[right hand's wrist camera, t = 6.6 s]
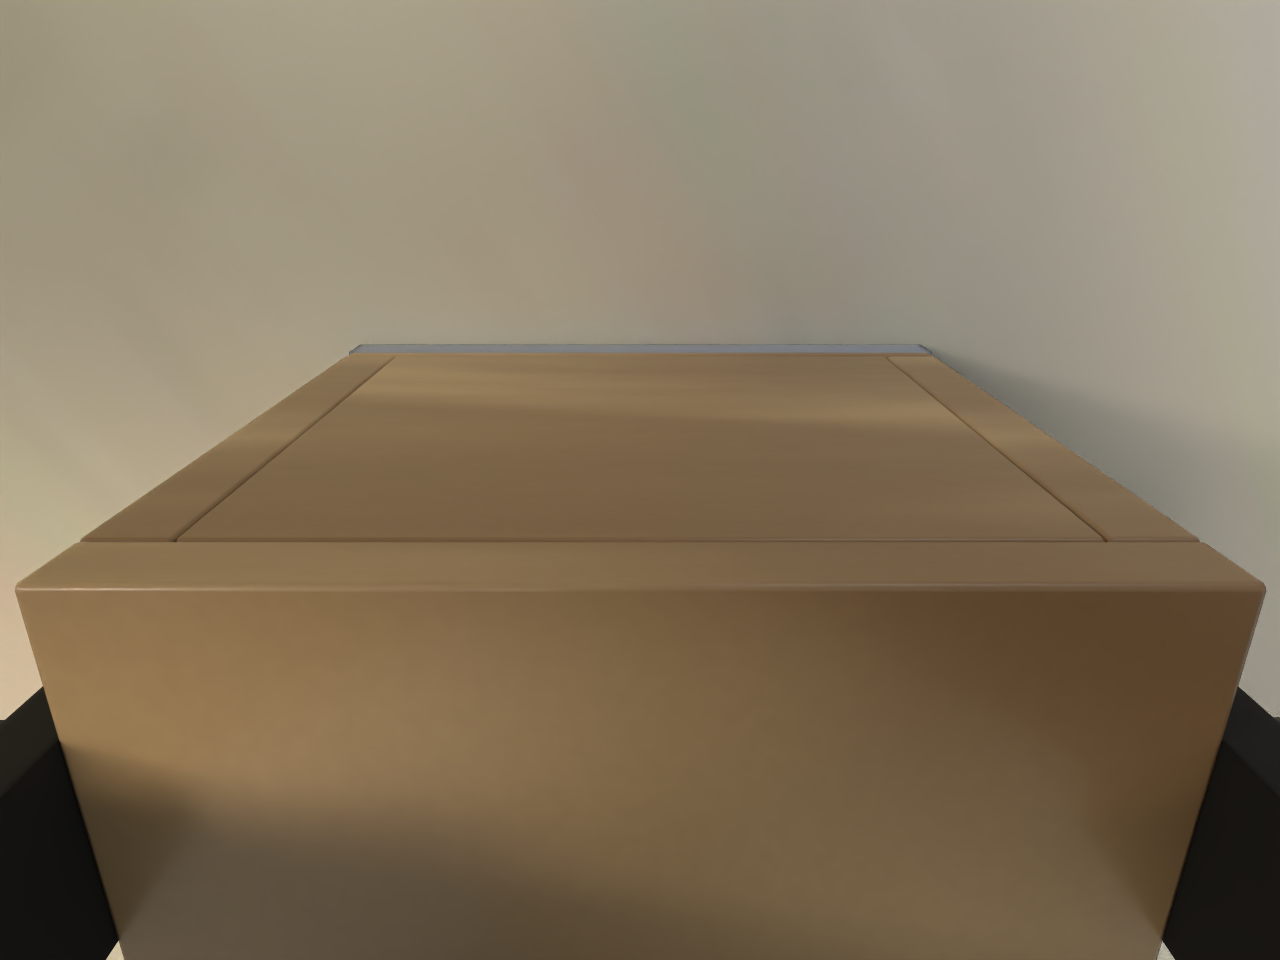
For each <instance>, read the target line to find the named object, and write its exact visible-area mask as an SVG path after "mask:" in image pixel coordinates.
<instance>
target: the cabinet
mask: <svg viewBox="0 0 1280 960" xmlns="http://www.w3.org/2000/svg"><path fill="white" fill-rule="evenodd" d="M15 593H16V596H17V599H18V603H19V606H20V610H21V613H22V616H23V620H24V623H25V626H26V630H27V633H28V636H29V640H30V643H31V647H32V650H33V653H34V657H35V660H36V663H37V667H38V670H39V674H40V677H41V680H42V684H43V687H44V690H45V694H46V697H47V701H48V704H49V707H50V711H51V714H52V717H53V721H54V724H55V727H56V731H57V734H58V738H59V741H60V744H61V748H62V751H63V754H64V758H65V761H66V765H67V768H68V771H69V775H70V778H71V781H72V785H73V788H74V792H75V795H76V798H77V802H78V805H79V808H80V812H81V815H82V818H83V822H84V825H85V829H86V832H87V835H88V839H89V842H90V845H91V849H92V852H93V856H94V859H95V862H96V866H97V869H98V872H99V876H100V879H101V883H102V886H103V889H104V893H105V896H106V899H107V903H108V906H109V909H110V913H111V916H112V920H113V923H114V926H115V930H116V933H117V936H118V940H119V943H120V947H121V950H122V953H123V957H124V960H1157V957H1158V953H1159V950H1160V947H1161V943H1162V940H1163V936H1164V933H1165V930H1166V926H1167V923H1168V920H1169V916H1170V913H1171V910H1172V906H1173V903H1174V899H1175V896H1176V893H1177V889H1178V886H1179V883H1180V879H1181V876H1182V873H1183V869H1184V866H1185V862H1186V859H1187V856H1188V852H1189V849H1190V846H1191V842H1192V839H1193V836H1194V832H1195V829H1196V825H1197V822H1198V819H1199V815H1200V812H1201V809H1202V805H1203V802H1204V799H1205V795H1206V792H1207V789H1208V785H1209V782H1210V778H1211V775H1212V772H1213V768H1214V765H1215V762H1216V758H1217V755H1218V752H1219V748H1220V745H1221V741H1222V738H1223V735H1224V731H1225V728H1226V725H1227V721H1228V718H1229V715H1230V711H1231V708H1232V704H1233V701H1234V698H1235V694H1236V691H1237V688H1238V684H1239V681H1240V678H1241V674H1242V671H1243V667H1244V664H1245V661H1246V657H1247V654H1248V651H1249V647H1250V644H1251V641H1252V637H1253V634H1254V630H1255V627H1256V624H1257V620H1258V617H1259V614H1260V610H1261V607H1262V604H1263V600H1264V597H1265V593H1266V586H1265V585H1264V583H1263V582H1261V581H1260V580H1258V579H1257V578H1255V577H1254V576H1252V575H1251V574H1249V573H1248V572H1247V571H1245V570H1244V569H1242V568H1241V567H1239V566H1238V565H1236V564H1235V563H1233V562H1232V561H1231V560H1229V559H1228V558H1226V557H1225V556H1223V555H1222V554H1220V553H1219V552H1217V551H1216V550H1215V549H1213V548H1212V547H1210V546H1209V545H1207V544H1205V543H1202V542H1200V541H1199V539H1198V538H1197V537H1196V536H1194V535H1193V534H1191V533H1190V532H1188V531H1187V530H1186V529H1184V528H1183V527H1181V526H1180V525H1178V524H1177V523H1175V522H1174V521H1172V520H1171V519H1170V518H1168V517H1167V516H1165V515H1164V514H1162V513H1161V512H1159V511H1158V510H1156V509H1155V508H1154V507H1152V506H1151V505H1149V504H1148V503H1146V502H1145V501H1143V500H1142V499H1140V498H1139V497H1138V496H1136V495H1135V494H1133V493H1132V492H1130V491H1129V490H1127V489H1126V488H1124V487H1123V486H1122V485H1120V484H1119V483H1117V482H1116V481H1114V480H1113V479H1111V478H1110V477H1109V476H1107V475H1106V474H1104V473H1103V472H1101V471H1100V470H1098V469H1097V468H1095V467H1094V466H1093V465H1091V464H1090V463H1088V462H1087V461H1085V460H1084V459H1082V458H1081V457H1079V456H1078V455H1077V454H1075V453H1074V452H1072V451H1071V450H1069V449H1068V448H1066V447H1065V446H1063V445H1062V444H1061V443H1059V442H1058V441H1056V440H1055V439H1053V438H1052V437H1050V436H1049V435H1047V434H1046V433H1045V432H1043V431H1042V430H1040V429H1039V428H1037V427H1036V426H1034V425H1033V424H1031V423H1030V422H1029V421H1027V420H1026V419H1024V418H1023V417H1021V416H1020V415H1018V414H1017V413H1015V412H1014V411H1013V410H1011V409H1010V408H1008V407H1007V406H1005V405H1004V404H1002V403H1001V402H999V401H998V400H997V399H995V398H994V397H992V396H991V395H989V394H988V393H986V392H985V391H983V390H982V389H981V388H979V387H978V386H976V385H975V384H973V383H972V382H970V381H969V380H967V379H966V378H965V377H963V376H962V375H960V374H959V373H957V372H956V371H954V370H953V369H951V368H950V367H949V366H947V365H946V364H944V363H943V362H941V361H940V360H938V359H937V358H935V357H933V356H932V355H931V352H930V351H929V350H927V349H926V348H925V347H923V346H922V345H359V346H358V347H356V348H355V349H353V350H352V351H350V352H349V356H347V357H345V358H343V359H342V360H340V361H339V362H337V363H336V364H334V365H333V366H331V367H330V368H329V369H327V370H326V371H324V372H323V373H321V374H320V375H318V376H317V377H315V378H314V379H313V380H311V381H310V382H308V383H307V384H305V385H304V386H302V387H301V388H299V389H298V390H297V391H295V392H294V393H292V394H291V395H289V396H288V397H286V398H285V399H283V400H282V401H281V402H279V403H278V404H276V405H275V406H273V407H272V408H270V409H269V410H267V411H266V412H265V413H263V414H262V415H260V416H259V417H257V418H256V419H254V420H253V421H251V422H250V423H249V424H247V425H246V426H244V427H243V428H241V429H240V430H238V431H237V432H235V433H234V434H233V435H231V436H230V437H228V438H227V439H225V440H224V441H222V442H221V443H220V444H218V445H217V446H215V447H214V448H212V449H211V450H209V451H208V452H206V453H205V454H204V455H202V456H201V457H199V458H198V459H196V460H195V461H193V462H192V463H190V464H189V465H188V466H186V467H185V468H183V469H182V470H180V471H179V472H177V473H176V474H174V475H173V476H172V477H170V478H169V479H167V480H166V481H164V482H163V483H161V484H160V485H158V486H157V487H156V488H154V489H153V490H151V491H150V492H148V493H147V494H145V495H144V496H142V497H141V498H140V499H138V500H137V501H135V502H134V503H132V504H131V505H129V506H128V507H126V508H125V509H124V510H122V511H121V512H119V513H118V514H116V515H115V516H113V517H112V518H110V519H109V520H108V521H106V522H105V523H103V524H102V525H100V526H99V527H97V528H96V529H94V530H93V531H92V532H90V533H89V534H87V535H86V536H84V537H83V538H82V539H81V541H80V542H79V543H76V544H74V545H72V546H71V547H69V548H68V549H66V550H65V551H64V552H62V553H61V554H59V555H58V556H56V557H55V558H53V559H52V560H50V561H49V562H48V563H46V564H45V565H43V566H42V567H40V568H39V569H37V570H36V571H34V572H33V573H32V574H30V575H29V576H27V577H26V578H24V579H23V580H21V581H20V582H19V583H17V585H16V588H15Z"/></svg>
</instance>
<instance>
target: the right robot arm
mask: <svg viewBox="0 0 1280 960" xmlns="http://www.w3.org/2000/svg"><path fill="white" fill-rule="evenodd" d="M1162 941H1163V942H1164V944H1165V945H1166V947H1167V948H1168V950H1169V951H1170V953H1171V954H1172V956H1173V957H1174V959H1175V960H1280V717H1272V716H1271V715H1270V714H1269V713H1267V712H1266V711H1265V710H1264V709H1263V708H1262V707H1261V706H1260V705H1258V704H1257V703H1256V702H1255V701H1254V700H1253V699H1252V698H1251V697H1249V696H1248V695H1247V694H1246V693H1245V692H1244V691H1243V690H1242V689H1240V688H1239V687H1238V688H1237V691H1236V694H1235V698H1234V701H1233V704H1232V708H1231V711H1230V715H1229V718H1228V721H1227V725H1226V728H1225V731H1224V735H1223V738H1222V741H1221V745H1220V748H1219V752H1218V755H1217V758H1216V762H1215V765H1214V768H1213V772H1212V775H1211V778H1210V782H1209V785H1208V789H1207V792H1206V795H1205V799H1204V802H1203V805H1202V809H1201V812H1200V815H1199V819H1198V822H1197V825H1196V829H1195V832H1194V836H1193V839H1192V842H1191V846H1190V849H1189V852H1188V856H1187V859H1186V862H1185V866H1184V869H1183V873H1182V876H1181V879H1180V883H1179V886H1178V889H1177V893H1176V896H1175V899H1174V903H1173V906H1172V910H1171V913H1170V916H1169V920H1168V923H1167V926H1166V930H1165V933H1164V936H1163V940H1162ZM117 942H118V936H117V933H116V930H115V926H114V923H113V920H112V916H111V913H110V909H109V906H108V903H107V899H106V896H105V893H104V889H103V886H102V883H101V879H100V876H99V872H98V869H97V866H96V862H95V859H94V856H93V852H92V849H91V845H90V842H89V839H88V835H87V832H86V829H85V825H84V822H83V818H82V815H81V812H80V808H79V805H78V802H77V798H76V795H75V792H74V788H73V785H72V781H71V778H70V775H69V771H68V768H67V765H66V761H65V758H64V754H63V751H62V748H61V744H60V741H59V738H58V734H57V731H56V727H55V724H54V721H53V717H52V714H51V711H50V707H49V704H48V701H47V697H46V694H45V690H44V687H42V688H41V689H39V690H38V691H37V692H36V693H35V694H34V695H33V696H32V697H30V698H29V699H28V700H27V701H26V702H25V703H24V704H23V705H21V706H20V707H19V708H18V709H17V710H16V711H15V712H14V713H12V714H11V715H10V716H9V717H8V718H7V719H6V720H0V960H106V959H107V957H108V956H109V954H110V953H111V951H112V949H113V948H114V946H115V945H116V943H117Z"/></svg>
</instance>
